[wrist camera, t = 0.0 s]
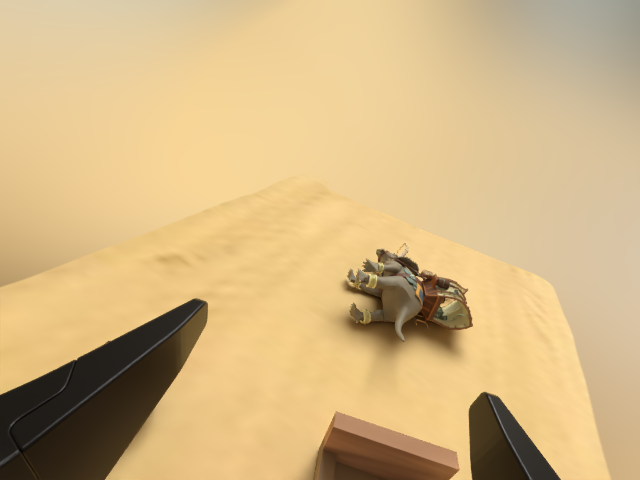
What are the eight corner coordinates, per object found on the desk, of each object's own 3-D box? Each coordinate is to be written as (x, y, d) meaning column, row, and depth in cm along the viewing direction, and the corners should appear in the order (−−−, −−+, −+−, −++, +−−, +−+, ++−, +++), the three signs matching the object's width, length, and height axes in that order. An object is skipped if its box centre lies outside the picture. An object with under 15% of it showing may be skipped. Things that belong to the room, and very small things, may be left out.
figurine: (351, 219, 44) (459, 242, 46) (340, 254, 46) (442, 274, 48) (374, 317, 26) (548, 347, 28) (354, 364, 29) (513, 389, 31)
